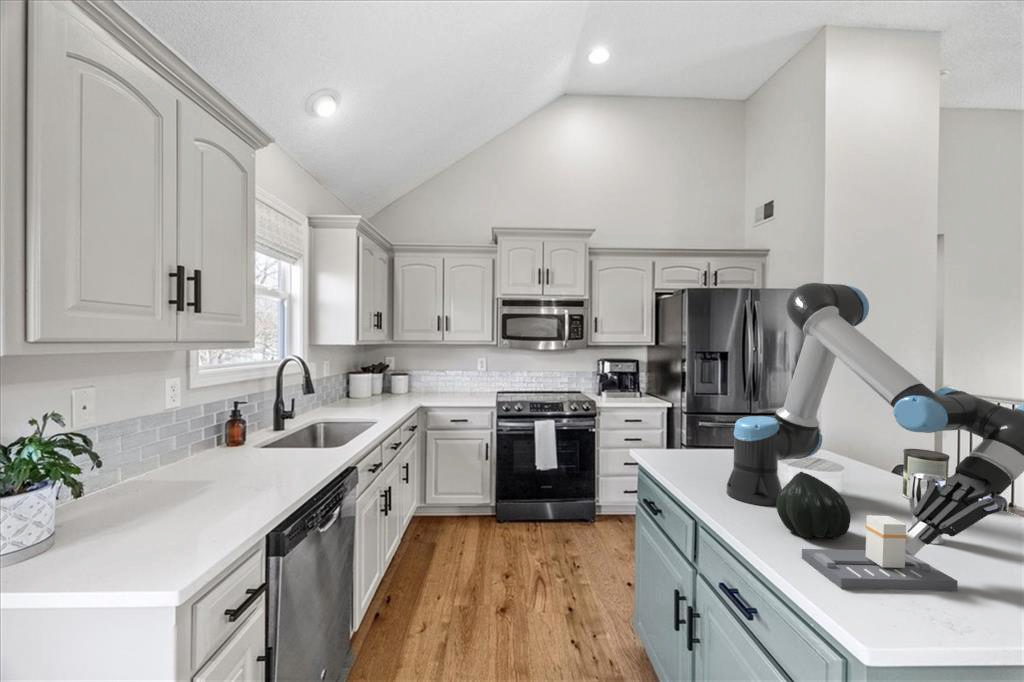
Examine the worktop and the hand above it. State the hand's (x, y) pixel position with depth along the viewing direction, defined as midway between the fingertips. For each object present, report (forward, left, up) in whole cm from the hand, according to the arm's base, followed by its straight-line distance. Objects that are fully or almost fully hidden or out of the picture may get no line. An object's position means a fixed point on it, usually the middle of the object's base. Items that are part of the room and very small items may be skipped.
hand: (905, 549), depth 93 cm
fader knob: (-2, -3, -3) cm, 5 cm away
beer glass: (-5, +27, -6) cm, 28 cm away
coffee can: (-17, +62, -6) cm, 64 cm away
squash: (-20, +5, -6) cm, 22 cm away
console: (-3, -4, -5) cm, 8 cm away
